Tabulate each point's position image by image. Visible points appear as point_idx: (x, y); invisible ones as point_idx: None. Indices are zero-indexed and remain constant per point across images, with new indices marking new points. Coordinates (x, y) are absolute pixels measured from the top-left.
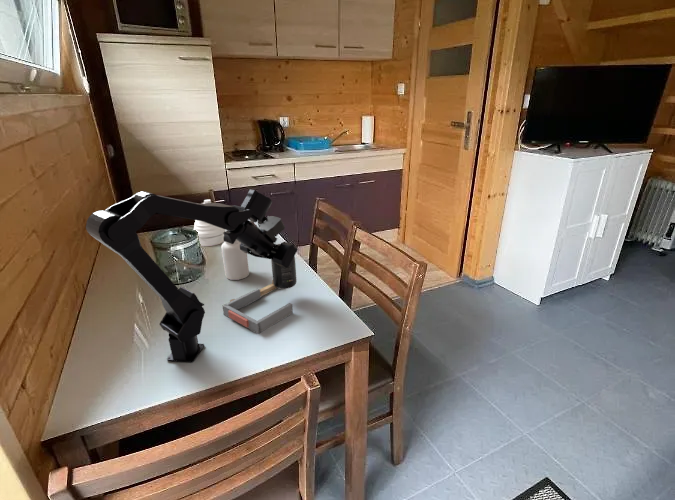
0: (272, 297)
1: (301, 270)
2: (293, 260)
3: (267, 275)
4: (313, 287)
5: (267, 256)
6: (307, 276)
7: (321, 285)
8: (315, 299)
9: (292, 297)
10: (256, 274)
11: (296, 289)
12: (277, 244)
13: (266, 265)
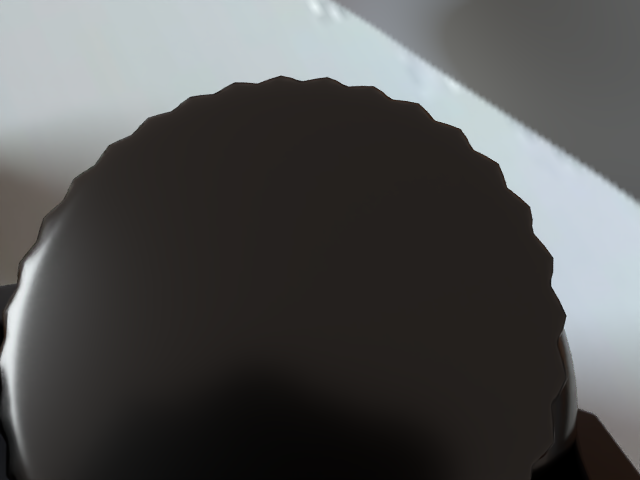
0: None
1: (288, 16)
2: (575, 392)
3: (89, 151)
4: None
5: (3, 466)
6: (368, 70)
7: (536, 146)
8: (615, 359)
9: None
10: (11, 164)
11: None
12: (55, 217)
13: (34, 41)
